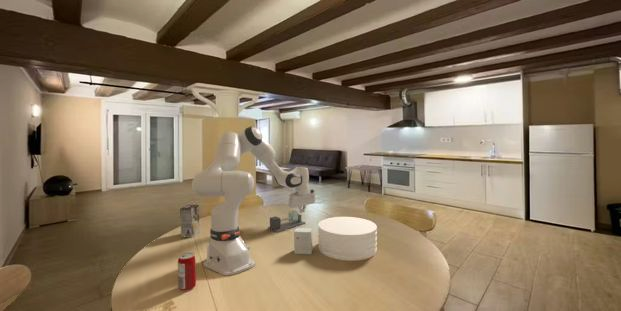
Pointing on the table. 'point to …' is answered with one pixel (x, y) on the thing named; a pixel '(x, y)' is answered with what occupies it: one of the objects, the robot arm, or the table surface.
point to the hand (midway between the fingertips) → (302, 212)
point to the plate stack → (347, 238)
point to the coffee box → (189, 220)
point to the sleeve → (293, 216)
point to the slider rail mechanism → (278, 226)
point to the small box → (303, 241)
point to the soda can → (186, 272)
